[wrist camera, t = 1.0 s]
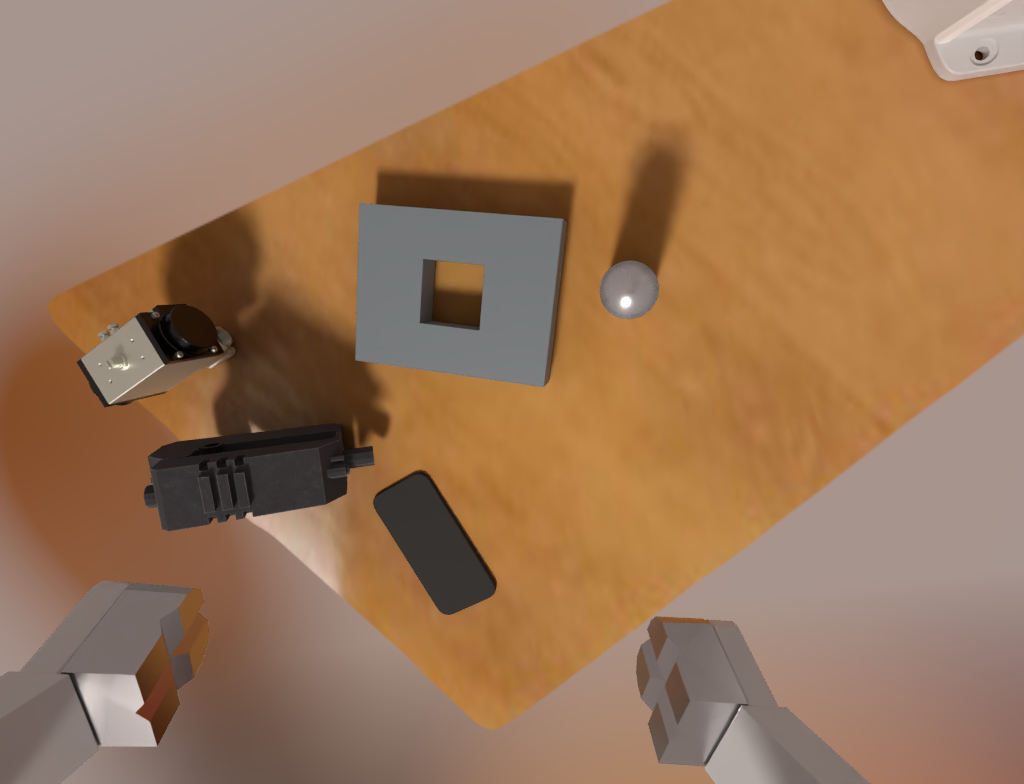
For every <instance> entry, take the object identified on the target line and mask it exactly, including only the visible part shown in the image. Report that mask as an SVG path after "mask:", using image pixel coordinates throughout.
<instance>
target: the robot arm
mask: <svg viewBox="0 0 1024 784" xmlns="http://www.w3.org/2000/svg"><path fill="white" fill-rule="evenodd" d="M882 1H883V3H884V4H885V6H886V7H887V9H888V10H889V12H890V13H891V14H892V15H893V16H894V18H895V19H896V20H897V21H898V22H899V23H900V24H902V25H903V26H904V27H905V28H907V29H908V30H909V31H910V32H912V33H913V34H914V35H915V36H916V37H917V38H918V39H919V40H920V41H921V42H922V43H923V45H924V48H925V50H926V53H927V55H928V58H929V60H930V63H931V65H932V67H933V69H934V70H935V72H936V73H937V74H938V76H939V77H941V78H942V79H944V80H948V81H956V80H963V79H969V78H975V77H981V76H987V75H994V74H1000V73H1006V72H1012V71H1018V70H1024V0H882ZM975 51H980V52H981V53H982V55H983V58H982V60H981V61H980V60H977V59H976V58H975ZM203 603H204V600H203V596H202V592H201V589H197V588H187V587H175V586H165V585H154V584H142V583H130V582H117V581H102V582H100V583H98V584H97V585H95V586H94V587H92V588H91V589H90V590H89V591H88V593H87V594H86V595H85V596H84V597H83V598H82V600H81V601H80V602H79V603H78V604H77V605H76V606H75V608H74V609H73V610H72V611H71V612H70V613H69V615H68V616H67V617H66V618H65V620H63V622H62V623H61V624H60V625H59V626H58V628H57V629H56V630H55V631H54V632H53V633H52V634H51V636H50V637H49V638H48V639H47V640H46V641H45V643H44V644H43V645H42V646H41V647H40V648H39V650H38V651H37V652H36V653H35V654H34V655H33V657H32V658H31V659H30V660H29V661H28V662H27V664H26V665H25V666H24V667H23V668H22V670H21V671H20V672H7V673H6V674H4V675H3V676H0V784H61V783H62V782H63V781H64V780H65V779H66V778H67V777H69V776H70V775H71V774H72V773H73V772H74V771H75V770H76V769H78V768H79V767H80V766H81V765H82V764H83V763H84V762H86V761H87V760H88V759H89V758H90V757H92V756H93V755H94V754H95V753H96V752H97V751H98V750H99V747H98V746H138V747H139V746H140V747H142V746H144V747H146V746H147V747H157V746H158V745H159V743H160V741H161V739H162V737H163V735H164V733H165V731H166V730H167V728H168V726H169V724H170V722H171V720H172V718H173V717H174V715H175V713H176V711H177V709H178V707H179V705H180V701H179V696H178V691H177V690H178V689H180V688H181V687H182V686H183V685H185V684H186V683H187V682H189V681H190V680H192V679H193V678H194V677H195V675H196V673H197V671H198V669H199V667H200V665H201V663H202V661H203V658H204V655H205V652H206V648H207V645H208V639H209V626H208V620H207V619H206V618H205V617H204V616H203V615H202V614H200V613H199V610H200V608H201V607H202V605H203ZM647 630H648V633H649V636H650V639H649V640H647V641H646V642H645V643H643V644H642V645H641V646H640V649H639V652H638V655H637V666H636V674H637V682H638V687H639V691H640V695H641V699H642V700H643V701H644V702H645V703H646V704H647V705H648V706H649V707H650V709H651V710H652V711H653V712H652V715H651V717H650V720H649V722H648V725H649V729H650V732H651V736H652V740H653V744H654V747H655V751H656V754H657V758H658V762H659V763H663V764H678V765H694V766H706V767H705V770H706V772H707V773H708V774H709V775H710V777H711V778H712V779H713V781H714V782H715V783H716V784H870V783H869V782H868V781H867V780H866V779H865V778H864V777H863V776H861V775H860V774H859V773H858V772H857V771H856V770H855V769H854V768H853V767H852V766H850V765H849V764H848V763H847V762H846V761H845V760H844V759H843V758H842V757H840V756H839V755H838V754H837V753H836V752H835V751H834V750H833V749H832V748H831V747H829V746H828V745H827V744H826V743H825V742H824V741H823V740H822V739H821V738H819V737H818V736H817V735H816V734H815V733H814V732H813V731H812V730H811V729H809V728H808V727H807V726H806V725H805V724H804V723H803V722H802V721H801V720H800V719H798V718H797V717H796V716H795V715H794V714H793V713H792V712H790V710H788V709H787V708H786V707H778V705H777V703H776V701H775V699H774V697H773V695H772V693H771V691H770V689H769V687H768V685H767V683H766V681H765V679H764V677H763V675H762V673H761V671H760V669H759V667H758V665H757V663H756V661H755V659H754V657H753V655H752V653H751V651H750V650H749V647H748V646H747V644H746V642H745V640H744V638H743V636H742V634H741V632H740V630H739V628H738V626H737V625H736V624H735V623H734V622H732V621H720V620H704V619H696V618H695V619H694V618H676V617H675V618H674V617H654V618H653V619H652V620H651V621H650V624H649V626H648V629H647Z"/></svg>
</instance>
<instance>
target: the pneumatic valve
mask: <svg viewBox="0 0 1024 784" xmlns="http://www.w3.org/2000/svg"><path fill="white" fill-rule="evenodd" d="M119 327H120V326H119V325H118V324H117V323H112V324H110V325H108V326H107V328H108V330H111V331H110V333H111V334H112V335H111V336H110V333H109V332H108V331H107V330H105V331H101V332H99V333H98V336H99V337H101V341H102V343H101V344H99V345H98V346H97V347H95V348H94V349H93V350H91V351H90V352H89V353H88V354H86V355H85V356H84V357H82V358H81V359H80V360H79V361H77V363H78V365H79V367H80V368H81V370H82V372H83V373H84V375H85V376H86V378H87V380H88V381H89V384H90V387H91V389H92V391H93V392H94V393H95V394H96V395H97V396H98V397H99V399H100V400H101V402H102V404H103V405H104V407H109V406H113V405H127V404H130V403H132V402H134V401H135V400H139V399H143V398H148V397H152V396H156V395H160V394H164V393H166V392H167V391H169V390H170V389H172V388H173V387H175V386H176V385H177V384H179V383H180V382H182V381H183V380H185V379H186V378H188V377H189V376H191V375H192V374H193V373H195V372H196V371H198V370H199V369H205V368H212V369H213V368H215V367H217V366H218V365H220V364H221V363H223V362H224V361H226V360H227V359H228V358H230V357H231V356H233V355H234V354H235V351H236V350H235V348H234V347H230V345H231V344H232V338H231V336H230V334H229V333H228V332H227V331H226V330H224V329H223V328H222V327H220V326H215V325H214V324H213V322H212V321H211V320H210V319H209V317H208V316H206V315H205V314H204V313H203V312H202V311H200V310H198V309H196V308H194V307H191V306H187V305H186V304H176V305H157V306H156V307H154V308H153V309H152V310H150V311H149V312H145V313H139V314H138V315H137V316H135V317H134V318H133V319H131V320H130V321H129V322H128V323H126V324H125V325H124V326H122V327H121V328H119Z"/></svg>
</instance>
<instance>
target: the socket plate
mask: <svg viewBox="0 0 1024 784" xmlns="http://www.w3.org/2000/svg"><path fill="white" fill-rule="evenodd" d="M566 230H567V222H566V221H565V220H564V219H560V218H547V217H534V216H521V215H508V214H495V213H482V212H469V211H456V210H443V209H430V208H417V207H404V206H391V205H378V204H365V203H360V204H359V241H358V279H357V317H356V354H355V360H357V361H364V362H371V363H378V364H385V365H392V366H399V367H406V368H413V369H420V370H427V371H434V372H441V373H448V374H455V375H462V376H469V377H476V378H483V379H490V380H497V381H504V382H511V383H518V384H525V385H532V386H539V387H544V386H545V385H546V384H547V383H548V382H549V377H550V369H551V360H552V351H553V343H554V334H555V325H556V317H557V308H558V300H559V291H560V282H561V274H562V265H563V256H564V248H565V239H566ZM436 260H437V261H447V262H457V263H468V264H478V265H485V269H484V281H483V293H482V305H481V318H480V327H478V326H470V325H462V324H454V323H446V322H437V321H432V313H433V296H434V280H435V263H436Z"/></svg>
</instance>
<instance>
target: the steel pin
mask: <svg viewBox="0 0 1024 784" xmlns="http://www.w3.org/2000/svg"><path fill="white" fill-rule="evenodd" d="M658 292H659V285H658V280H657V277H656V275H655V274H654V272H653V271H652V270H651V268H649V267H648V266H647V265H645V264H643V263H641V262H638V261H632V260H629V261H623V262H620V263H617V264H615V265H614V266H612V267H611V268H610V269H609V270H608V271H607V272H606V273H605V275H604V277H603V279H602V281H601V285H600V298H601V301H602V303H603V305H604V307H605V308H606V309H607V311H608V312H610V313H611V314H612V315H614V316H616V317H618V318H622V319H634V318H638V317H640V316H642V315H644V314H646V313H647V312H648V311H649V310H650V309H651V308H652V307H653V305H654V304H655V302H656V300H657V297H658Z"/></svg>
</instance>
